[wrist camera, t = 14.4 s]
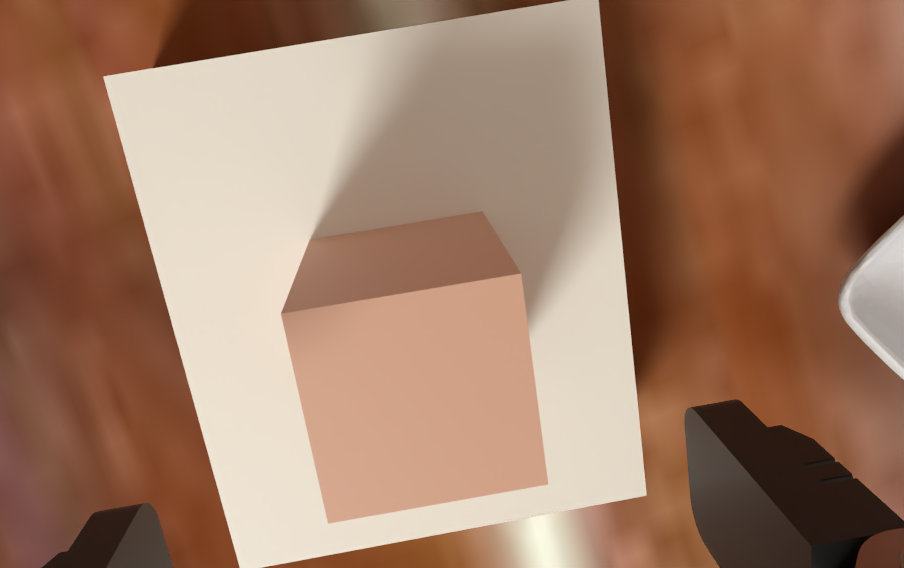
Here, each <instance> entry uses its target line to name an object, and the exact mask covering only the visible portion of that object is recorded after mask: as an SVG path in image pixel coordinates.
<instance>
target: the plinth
mask: <svg viewBox="0 0 904 568" xmlns="http://www.w3.org/2000/svg"><path fill="white" fill-rule="evenodd" d="M103 77H104V81H105V84H106V88H107V92H108V95H109V99H110V102H111V106H112V110H113V113H114V117H115V120H116V124H117V128H118V131H119V135H120V138H121V142H122V146H123V149H124V153H125V156H126V160H127V164H128V167H129V171H130V174H131V178H132V182H133V185H134V189H135V192H136V196H137V200H138V203H139V207H140V210H141V214H142V218H143V221H144V225H145V228H146V232H147V235H148V239H149V243H150V246H151V250H152V253H153V257H154V261H155V264H156V268H157V271H158V275H159V279H160V282H161V286H162V289H163V293H164V297H165V300H166V304H167V307H168V311H169V315H170V318H171V322H172V325H173V329H174V333H175V336H176V340H177V343H178V347H179V351H180V354H181V358H182V361H183V365H184V369H185V372H186V376H187V379H188V383H189V386H190V390H191V394H192V397H193V401H194V404H195V408H196V412H197V415H198V419H199V422H200V426H201V430H202V433H203V437H204V440H205V444H206V448H207V451H208V455H209V458H210V462H211V466H212V469H213V473H214V476H215V480H216V484H217V487H218V491H219V494H220V498H221V502H222V505H223V509H224V512H225V516H226V520H227V523H228V527H229V530H230V534H231V537H232V541H233V545H234V548H235V552H236V555H237V559H238V563H239V566H240V568H262V567H267V566H272V565H278V564H283V563H288V562H294V561H299V560H304V559H310V558H315V557H320V556H326V555H331V554H337V553H342V552H347V551H353V550H358V549H363V548H369V547H374V546H379V545H385V544H390V543H395V542H401V541H406V540H411V539H417V538H422V537H427V536H433V535H438V534H444V533H449V532H454V531H460V530H465V529H470V528H476V527H481V526H486V525H492V524H497V523H502V522H508V521H513V520H518V519H524V518H529V517H534V516H540V515H545V514H551V513H556V512H561V511H567V510H572V509H577V508H583V507H588V506H593V505H599V504H604V503H609V502H615V501H620V500H625V499H631V498H636V497H641V496H647V495H646V485H645V475H644V464H643V454H642V444H641V433H640V423H639V413H638V402H637V392H636V382H635V371H634V361H633V351H632V341H631V330H630V320H629V310H628V299H627V289H626V279H625V268H624V258H623V248H622V237H621V227H620V217H619V206H618V196H617V186H616V176H615V165H614V155H613V145H612V134H611V124H610V114H609V103H608V93H607V83H606V72H605V62H604V52H603V42H602V31H601V21H600V11H599V0H567V1H561V2H555V3H549V4H543V5H537V6H531V7H524V8H518V9H512V10H506V11H500V12H494V13H488V14H482V15H476V16H470V17H463V18H457V19H451V20H445V21H439V22H433V23H427V24H421V25H415V26H409V27H402V28H396V29H390V30H384V31H378V32H372V33H366V34H360V35H354V36H347V37H341V38H335V39H329V40H323V41H317V42H311V43H305V44H299V45H293V46H286V47H280V48H274V49H268V50H262V51H256V52H250V53H244V54H238V55H232V56H225V57H219V58H213V59H207V60H201V61H195V62H189V63H183V64H177V65H171V66H164V67H158V68H152V69H146V70H140V71H134V72H128V73H122V74H116V75H109V76H103ZM481 211H483V213H484V214H485V216H486V218H487V219H488V221H489V223H490V224H491V226H492V227H493V229H494V231H495V232H496V234H497V235H498V237H499V239H500V240H501V242H502V243H503V245H504V247H505V248H506V250H507V251H508V253H509V255H510V256H511V258H512V259H513V261H514V263H515V264H516V266H517V267H518V269H519V271H520V272H521V275H522V283H523V291H524V299H525V307H526V314H527V322H528V330H529V338H530V346H531V353H532V361H533V369H534V377H535V384H536V392H537V400H538V408H539V416H540V423H541V431H542V439H543V447H544V455H545V462H546V470H547V478H548V485H542V486H537V487H531V488H526V489H520V490H514V491H509V492H503V493H498V494H492V495H486V496H481V497H475V498H469V499H464V500H458V501H453V502H447V503H441V504H436V505H430V506H424V507H419V508H413V509H408V510H402V511H396V512H391V513H385V514H380V515H374V516H368V517H363V518H357V519H351V520H346V521H340V522H335V523H329V524H328V521H327V517H326V512H325V508H324V504H323V499H322V495H321V490H320V486H319V481H318V477H317V472H316V468H315V464H314V459H313V455H312V450H311V446H310V441H309V437H308V432H307V428H306V424H305V419H304V415H303V410H302V406H301V401H300V397H299V392H298V388H297V384H296V379H295V375H294V370H293V366H292V361H291V357H290V352H289V348H288V344H287V339H286V335H285V330H284V326H283V321H282V317H281V312H282V309H283V307H284V304H285V302H286V299H287V297H288V294H289V291H290V289H291V286H292V284H293V281H294V279H295V276H296V273H297V271H298V268H299V266H300V263H301V261H302V258H303V256H304V253H305V250H306V248H307V245H308V243H309V240H310V239H316V238H322V237H329V236H335V235H341V234H347V233H353V232H359V231H365V230H371V229H377V228H383V227H389V226H396V225H402V224H408V223H414V222H420V221H426V220H432V219H438V218H444V217H450V216H456V215H463V214H469V213H475V212H481Z"/></svg>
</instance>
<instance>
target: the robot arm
mask: <svg viewBox="0 0 904 568" xmlns="http://www.w3.org/2000/svg"><path fill="white" fill-rule="evenodd" d="M685 434H686V447H687V459H688V472H689V485H690V497H691V505H692V510H693V515H694V519H695V522H696V525H697V528H698V531H699V533H700V536H701V538H702V540H703V542H704V544H705V545H706V547H707V548H708V550H709V552H710V553H711V555H712V556H713V558H714V559H715V561H716V562H717V564H718V565H719V567H720V568H904V521H903V520H902V519H901V518H900V517H899V516H898V515H897V514H896V513H894V512H893V511H892V510H891V509H890V508H889V507H888V506H887V505H886V504H884V503H883V502H882V501H881V500H880V499H879V498H878V497H877V496H876V495H875V494H873V493H872V492H871V491H870V490H869V489H868V488H867V487H866V486H865V485H863V484H862V483H861V482H860V481H859V480H858V479H857V478H855V479H853V477H852V474H851V473H850V472H849V471H848V470H847V469H846V468H845V467H844V466H842V465H841V464H840V463H839V462H835V459H834V457H833V456H831V455H830V454H829V453H828V452H827V451H826V450H825V449H824V448H823V447H821V446H820V445H819V444H818V443H817V442H816V441H815V440H814V439H812V438H810V437H807V436H805V435H803V434H801V433H798V432H796V431H794V430H791V429H789V428H787V427H785V426H782V425H779V426H773V427H767V426H766V425H764V424H763V423H762V422H761V421H760V420H759V419H758V418H757V417H756V416H755V415H754V414H753V413H752V412H751V411H750V410H749V409H748V408H747V407H746V406H745V405H744V404H743V403H742V402H741V401H740V400H730V401H724V402H719V403H713V404H707V405H702V406H696V407H691V408H688V409H687V410H686V413H685ZM42 568H173V565H172V562H171V558H170V555H169V552H168V549H167V545H166V542H165V539H164V535H163V532H162V529H161V525H160V522H159V519H158V516H157V513H156V511H155V510H154V508H153V507H152V506H151V505H150V504H148V503H143V504H138V505H132V506H126V507H121V508H115V509H109V510H104V511H98V512H95V513H94V514H92V516H91V517H90V518H89V520H88V521H87V523H86V524H85V526H84V527H83V529H82V530H81V532H80V534H79V535H78V537H77V538H76V540H75V541H74V543H73V544H72V546H71V547H70V549H69V550H68V551H67V552H61V553H59V554H58V555H56V556H55V557H54V558H53V559H52V560H50V561H49V562H48V563H47V564H46V565H44V566H43V567H42Z"/></svg>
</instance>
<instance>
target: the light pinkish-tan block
mask: <svg viewBox="0 0 904 568" xmlns="http://www.w3.org/2000/svg"><path fill="white" fill-rule="evenodd" d="M281 317H282V321H283V326H284V330H285V335H286V339H287V344H288V348H289V352H290V357H291V361H292V366H293V370H294V375H295V379H296V384H297V388H298V392H299V397H300V401H301V406H302V410H303V415H304V419H305V424H306V428H307V432H308V437H309V441H310V446H311V450H312V455H313V459H314V464H315V468H316V472H317V477H318V481H319V486H320V490H321V495H322V499H323V504H324V508H325V512H326V517H327V521H328V524H329V523H335V522H340V521H346V520H351V519H357V518H363V517H368V516H374V515H380V514H385V513H391V512H396V511H402V510H408V509H413V508H419V507H424V506H430V505H436V504H441V503H447V502H453V501H458V500H464V499H469V498H475V497H481V496H486V495H492V494H498V493H503V492H509V491H514V490H520V489H526V488H531V487H537V486H542V485H548V478H547V470H546V462H545V455H544V447H543V439H542V431H541V423H540V416H539V408H538V400H537V392H536V384H535V377H534V369H533V361H532V353H531V346H530V338H529V330H528V322H527V314H526V307H525V299H524V291H523V283H522V275H521V272H520V271H519V269H518V267H517V266H516V264H515V263H514V261H513V259H512V258H511V256H510V255H509V253H508V251H507V250H506V248H505V247H504V245H503V243H502V242H501V240H500V239H499V237H498V235H497V234H496V232H495V231H494V229H493V227H492V226H491V224H490V223H489V221H488V219H487V218H486V216H485V214H484V213H483V211H481V212H475V213H469V214H463V215H456V216H450V217H444V218H438V219H432V220H426V221H420V222H414V223H408V224H402V225H396V226H389V227H383V228H377V229H371V230H365V231H359V232H353V233H347V234H341V235H335V236H329V237H322V238H316V239H310V240H309V243H308V245H307V248H306V250H305V253H304V256H303V258H302V261H301V263H300V266H299V268H298V271H297V273H296V276H295V279H294V281H293V284H292V286H291V289H290V291H289V294H288V297H287V299H286V302H285V304H284V307H283V309H282V312H281Z"/></svg>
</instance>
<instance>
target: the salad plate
mask: <svg viewBox="0 0 904 568" xmlns="http://www.w3.org/2000/svg"><path fill="white" fill-rule="evenodd" d="M838 303H839V308H840V312H841V314H842V316H843V318H844V320H845V321H846V322H847V324H848V325H849V326H850V327H851V328H852V329H853V330H854V332H855V333H856V334H857V335H858V336H859V337H860V338H861V339H862V340H863V342H864V343H865V344H867V345H868V346H869V347H870V348H871V349H872V350H873V351H874V352H875V353H876V354H877V355H878V356H879V357H880V358H881V359H882V360H883V361H884V362H885V363H886V364H887V365H888V366H889V367H890V368H891V369H892V370H893V371H894V372H895V373H897V374H898V375H899V376H900V377H901V378H902V379H903V380H904V215H903V216H902V217H901V218H900V219H899V220H898V221H897V222H896V223H895V224H894V225H893V226H891V227H890V228H889V229H888V230H887V231H886V232H885V233H884V234H883V235H882V236H881V237H880V238H879V239H878V240H877V241H876V242H875V243H874V244H873V245H872V246H871V247H870V248H869V249H868V250H867V251H866V252H865V253H864V254H863V255H862V256H861V257H860V258H859V259H858V260H857V261H856V262H855V264H854V265H853V266H852V267H851V268H850V269H849V271H848V272H847V273H846V275H845V276H844V278H843V280H842V283H841V285H840V289H839V295H838Z"/></svg>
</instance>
